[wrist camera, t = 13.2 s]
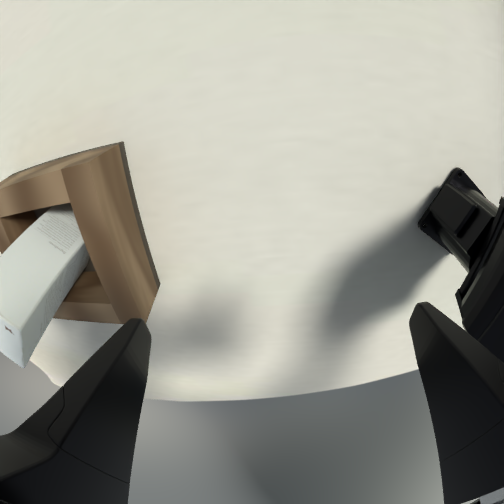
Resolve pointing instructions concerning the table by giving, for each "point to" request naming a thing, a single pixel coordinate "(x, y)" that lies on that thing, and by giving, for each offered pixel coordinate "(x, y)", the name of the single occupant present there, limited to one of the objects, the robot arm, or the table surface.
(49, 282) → the skincare box
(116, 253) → the socket block
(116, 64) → the table surface
